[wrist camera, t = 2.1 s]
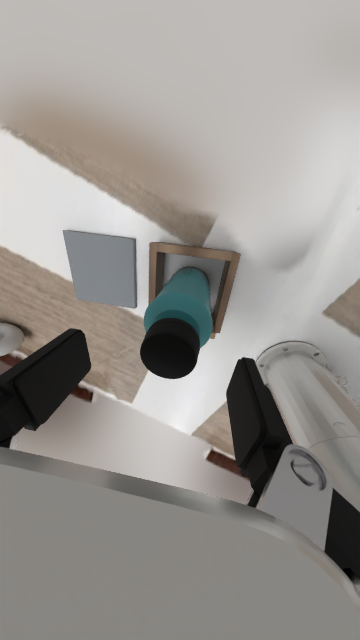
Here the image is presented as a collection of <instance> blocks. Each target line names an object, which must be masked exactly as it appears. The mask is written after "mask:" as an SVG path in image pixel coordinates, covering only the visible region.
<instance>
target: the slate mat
mask: <svg viewBox="0 0 360 640" xmlns="http://www.w3.org/2000/svg"><path fill="white" fill-rule="evenodd" d="M63 235H64V240H65V244H66V249H67V254H68V259H69V264H70V269H71V274H72V278H73V283H74V288H75V293H76V298H77V299H78V300H85V301H91V302H97V303H103V304H109V305H116V306H122V307H128V308H134V309H135V308H136V307H137V290H136V240H135V239H130V238H122V237H114V236H107V235H99V234H91V233H83V232H75V231H66V230H63Z"/></svg>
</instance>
